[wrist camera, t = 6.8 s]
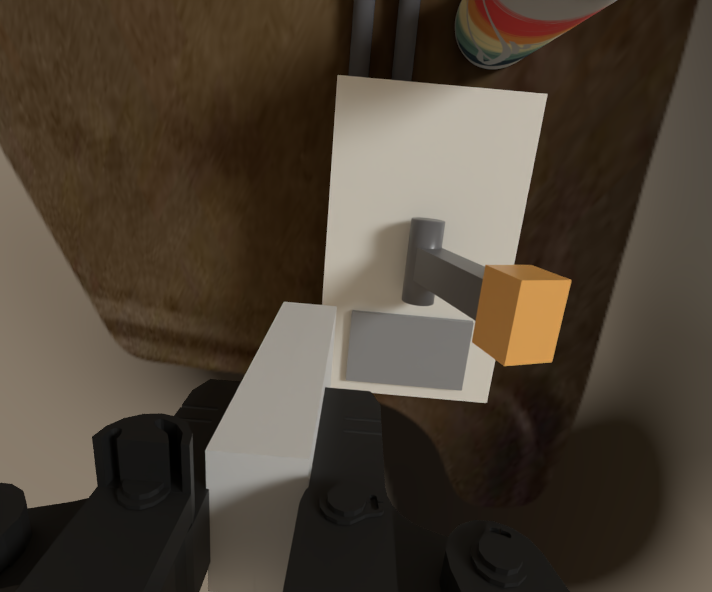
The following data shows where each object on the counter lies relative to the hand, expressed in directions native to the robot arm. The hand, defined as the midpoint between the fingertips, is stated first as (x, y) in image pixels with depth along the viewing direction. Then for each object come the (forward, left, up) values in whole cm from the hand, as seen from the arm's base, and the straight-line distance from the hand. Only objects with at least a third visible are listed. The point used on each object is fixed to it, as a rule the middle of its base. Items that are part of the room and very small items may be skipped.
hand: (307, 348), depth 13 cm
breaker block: (0, +5, -23) cm, 24 cm away
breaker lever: (0, +5, -15) cm, 16 cm away
